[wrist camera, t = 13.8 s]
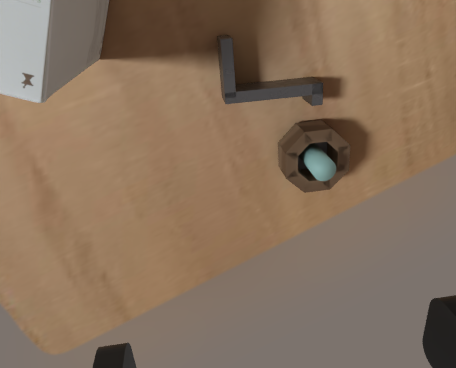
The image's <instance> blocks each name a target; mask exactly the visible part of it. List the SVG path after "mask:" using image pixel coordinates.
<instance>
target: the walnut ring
mask: <svg viewBox="0 0 456 368" xmlns="http://www.w3.org/2000/svg"><path fill="white" fill-rule="evenodd" d="M319 142H327V156H328V157H329V158H330V159H331V160H332V161H333V162H334V163H335V165H336V172H335V174H334V176H333V177H332V178H331V179H329V180H327V181H319V180H317V179H316V178H315V177H314V176H313V174H312V173H311V172H310V170H309V169H300V168H298V156H299V155H300V154H301V153H302V151H303V150H304V149H305V148H306V147H307V146H308V145H309V144H311V143H319ZM278 157H279V167H280V169H281V171H282V172H283V174H284V176H285V177H286V179H288V180H289V181H290V182H291V183H293V184H294V185H295V186H297V187H298V188H299V189H300V190H302V191H303V192H305V193H306V192H313V191H321V190H329V189H331V188H332V187H333V186H334V185H335V184H336V183H337V182H338V181H339V180H340V179H341V178H342V177H343V176H344V175H345V174H346V173H347V172H348V171H349V160H350V144H348V143H347V142H346V141H345V140H344V139H343V138H342V137H341V136H340V135H338V134H337V133H336V132H335V131H334V130H333V129H332V128H330V127H329V126H328V125H327V124H326V123H325V122H323V121H322V120H317V121H308V122H300V123H295V125H294V126H293V127H292V128H291V129H290V130H289V131H288V132H287V133H286V135H285V136H284V137H283V138H282V139H281V140H280V141H279V142H278Z"/></svg>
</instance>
